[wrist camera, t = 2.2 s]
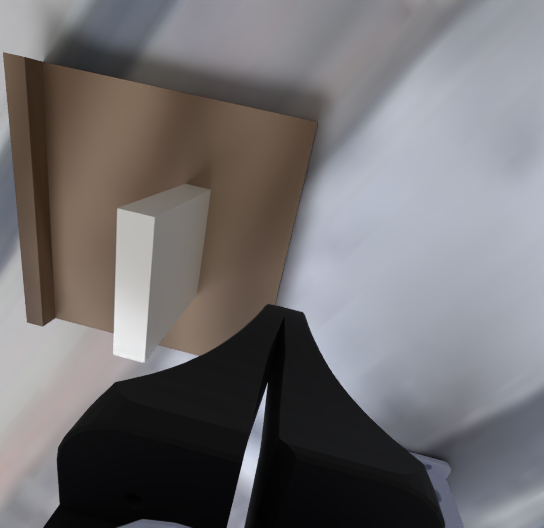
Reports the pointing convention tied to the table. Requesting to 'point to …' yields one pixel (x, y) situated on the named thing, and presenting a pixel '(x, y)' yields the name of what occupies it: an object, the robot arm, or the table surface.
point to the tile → (157, 266)
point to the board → (148, 192)
